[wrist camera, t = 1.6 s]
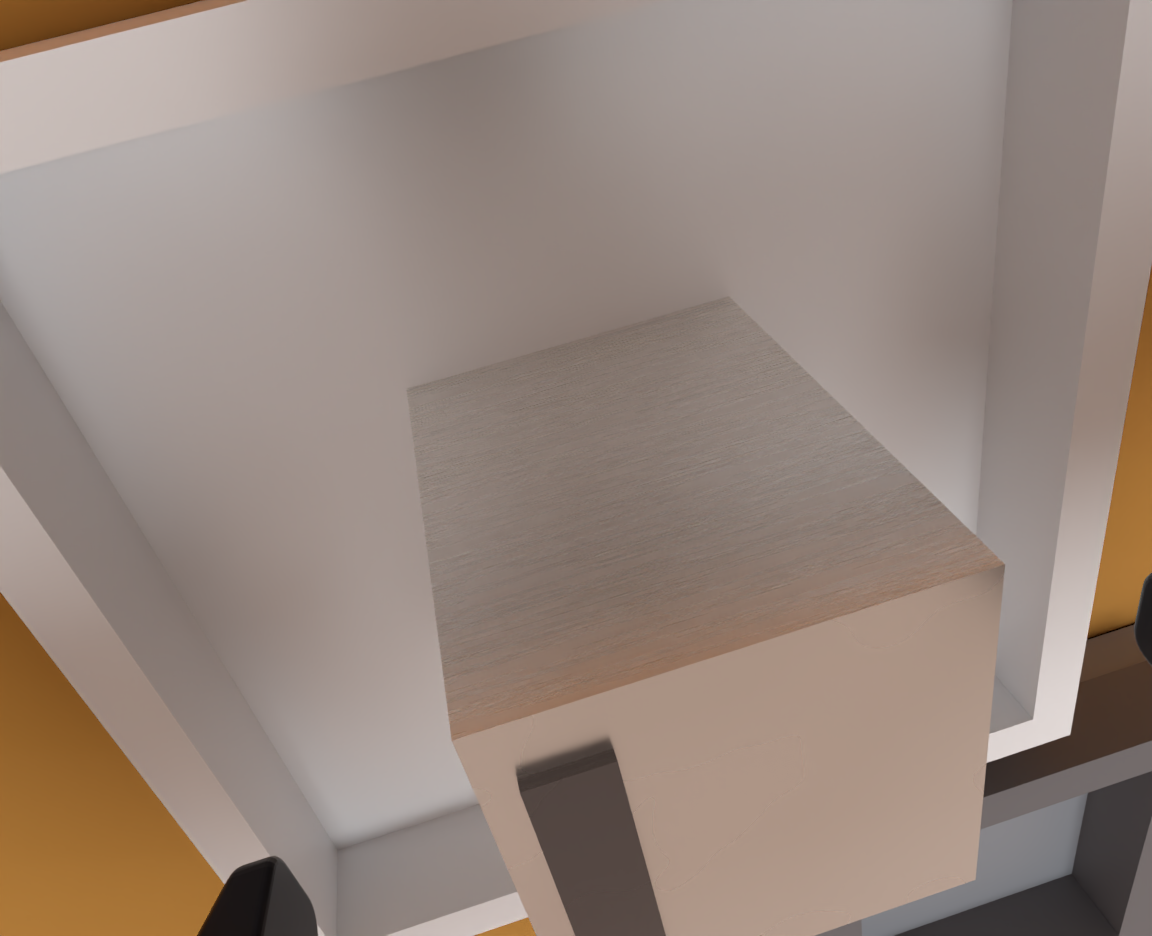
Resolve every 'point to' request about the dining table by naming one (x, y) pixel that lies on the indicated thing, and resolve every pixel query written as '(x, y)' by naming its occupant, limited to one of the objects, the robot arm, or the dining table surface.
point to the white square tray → (517, 344)
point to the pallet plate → (1060, 823)
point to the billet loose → (702, 636)
